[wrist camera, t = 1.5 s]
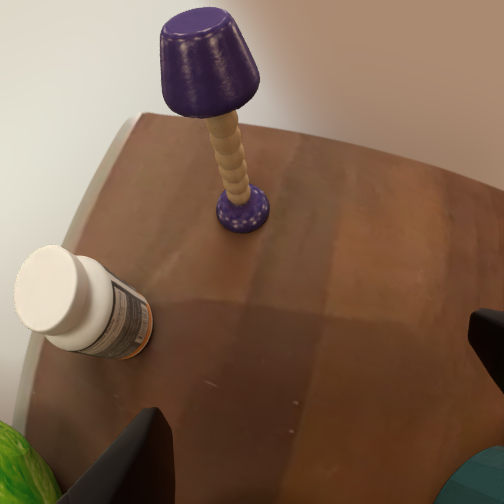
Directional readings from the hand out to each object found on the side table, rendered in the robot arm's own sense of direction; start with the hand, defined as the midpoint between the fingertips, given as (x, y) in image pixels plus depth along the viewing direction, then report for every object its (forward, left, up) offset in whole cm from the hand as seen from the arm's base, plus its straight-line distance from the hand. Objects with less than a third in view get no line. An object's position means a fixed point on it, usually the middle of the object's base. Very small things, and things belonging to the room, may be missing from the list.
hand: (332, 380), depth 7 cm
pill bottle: (+8, +11, -14) cm, 20 cm away
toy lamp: (+13, 0, -14) cm, 19 cm away
